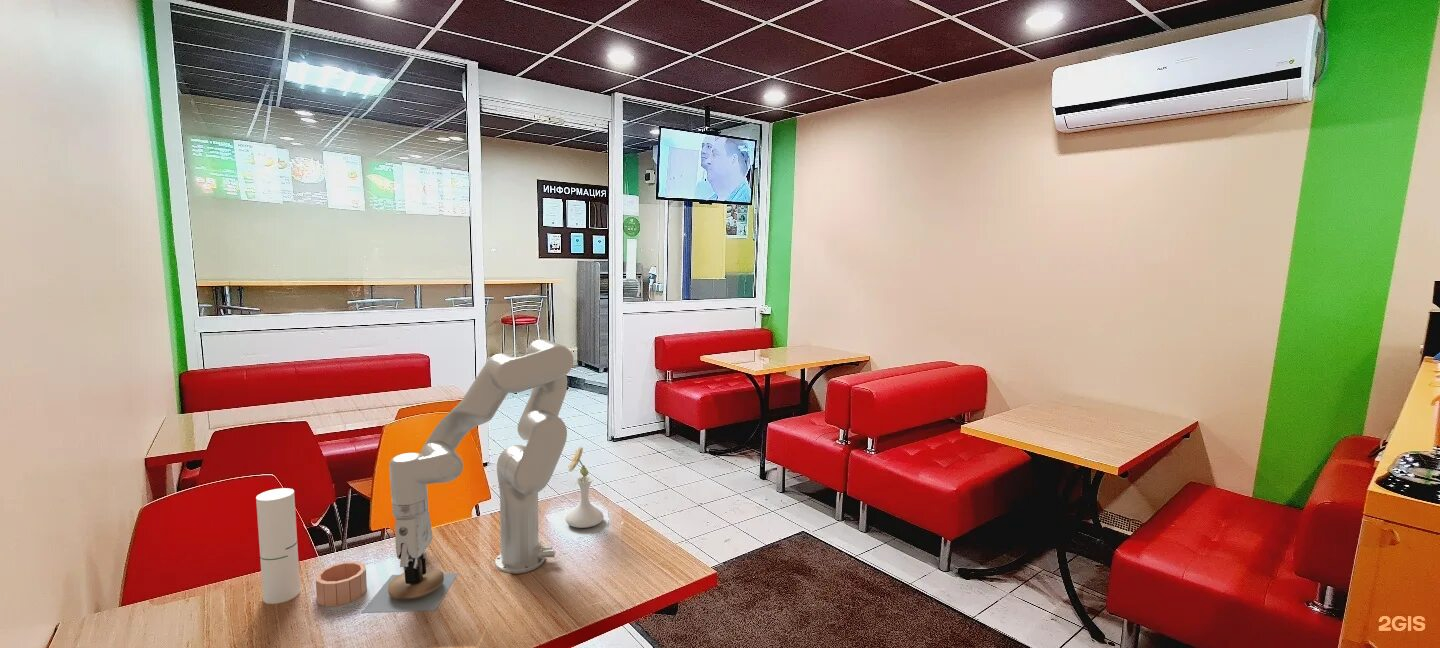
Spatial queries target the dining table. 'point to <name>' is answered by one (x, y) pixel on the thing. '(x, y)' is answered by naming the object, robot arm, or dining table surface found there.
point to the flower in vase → (583, 499)
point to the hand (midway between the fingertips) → (416, 577)
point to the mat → (424, 603)
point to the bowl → (341, 583)
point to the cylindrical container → (278, 545)
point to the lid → (416, 584)
